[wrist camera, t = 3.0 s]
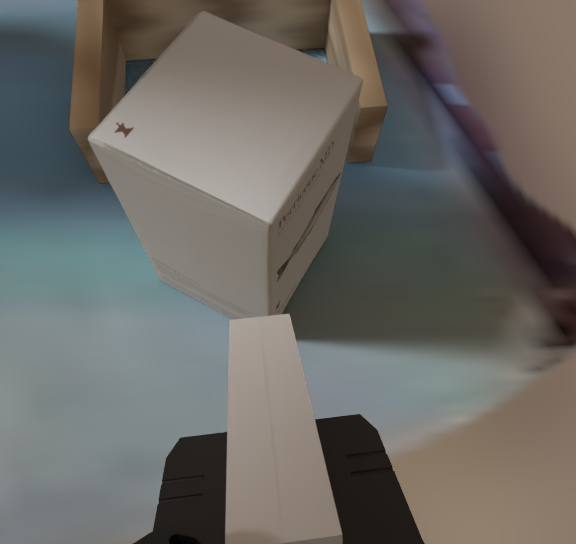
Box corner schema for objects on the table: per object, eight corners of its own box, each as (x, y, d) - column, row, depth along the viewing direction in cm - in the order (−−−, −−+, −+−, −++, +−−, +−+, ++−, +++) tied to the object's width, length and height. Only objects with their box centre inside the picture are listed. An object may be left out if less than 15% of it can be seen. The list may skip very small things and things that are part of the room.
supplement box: (270, 343, 27) (268, 232, 15) (156, 280, 28) (75, 134, 17) (332, 237, 30) (370, 75, 18) (225, 184, 31) (197, 1, 19)
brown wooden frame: (99, 183, 31) (60, 113, 25) (104, 46, 35) (72, -40, 29) (371, 161, 32) (392, 89, 26) (341, 31, 36) (354, -54, 31)
